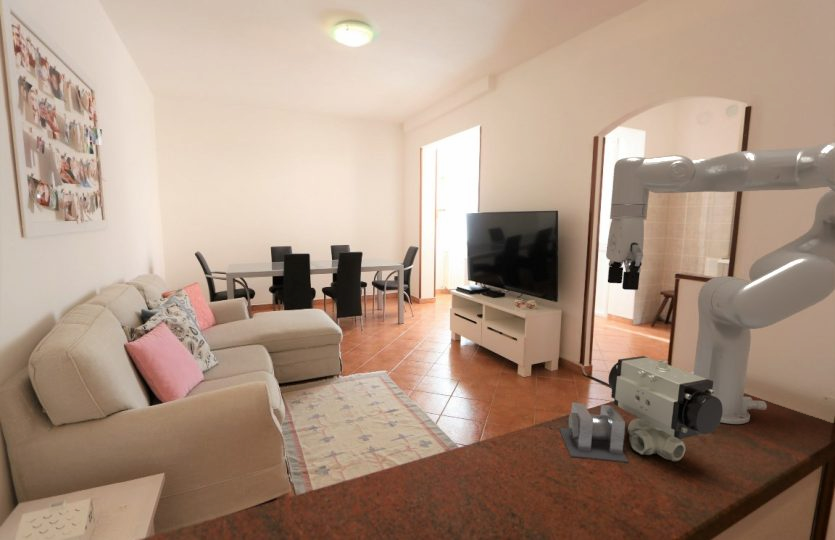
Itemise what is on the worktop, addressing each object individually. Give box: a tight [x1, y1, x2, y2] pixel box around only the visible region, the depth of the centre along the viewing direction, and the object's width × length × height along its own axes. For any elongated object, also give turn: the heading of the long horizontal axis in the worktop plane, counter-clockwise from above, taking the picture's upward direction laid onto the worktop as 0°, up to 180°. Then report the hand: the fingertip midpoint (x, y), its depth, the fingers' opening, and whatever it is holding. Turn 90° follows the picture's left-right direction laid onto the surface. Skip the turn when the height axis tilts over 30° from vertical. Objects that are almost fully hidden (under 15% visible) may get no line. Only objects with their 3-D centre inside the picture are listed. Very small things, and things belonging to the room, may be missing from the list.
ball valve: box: [607, 355, 723, 462], centre depth 75 cm, size 18×8×18 cm, turn 21°
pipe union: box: [568, 402, 626, 455], centre depth 77 cm, size 9×6×6 cm
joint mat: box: [559, 427, 629, 464], centre depth 77 cm, size 10×10×1 cm
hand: (621, 286), depth 94 cm, fingers open, 9 cm apart
